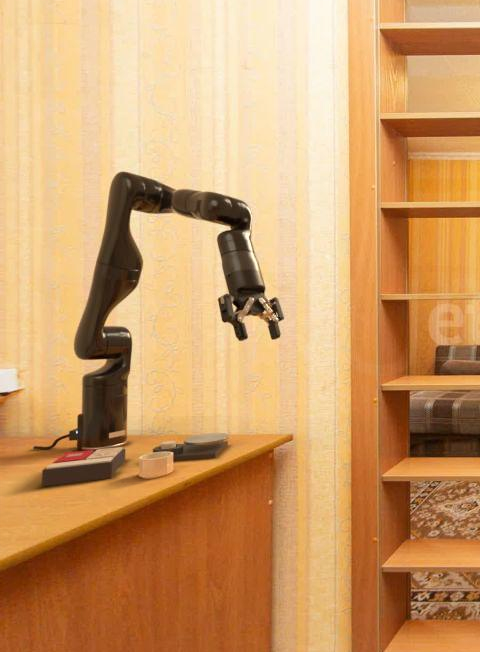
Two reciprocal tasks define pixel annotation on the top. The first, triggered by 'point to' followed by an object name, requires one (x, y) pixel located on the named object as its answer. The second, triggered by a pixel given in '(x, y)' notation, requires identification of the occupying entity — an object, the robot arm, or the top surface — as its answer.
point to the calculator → (83, 466)
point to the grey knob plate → (194, 451)
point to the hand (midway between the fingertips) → (260, 339)
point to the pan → (206, 439)
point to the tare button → (168, 444)
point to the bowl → (155, 464)
